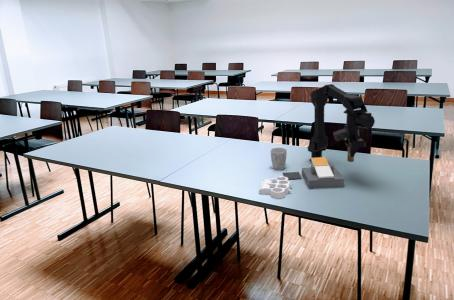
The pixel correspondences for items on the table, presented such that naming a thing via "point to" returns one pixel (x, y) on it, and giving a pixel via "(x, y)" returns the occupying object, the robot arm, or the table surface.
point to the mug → (278, 158)
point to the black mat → (292, 175)
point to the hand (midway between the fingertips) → (350, 155)
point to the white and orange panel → (322, 167)
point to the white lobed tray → (276, 187)
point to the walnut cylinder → (349, 155)
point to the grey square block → (314, 182)
